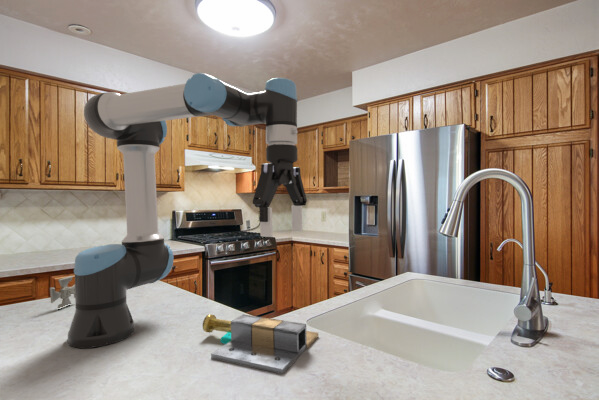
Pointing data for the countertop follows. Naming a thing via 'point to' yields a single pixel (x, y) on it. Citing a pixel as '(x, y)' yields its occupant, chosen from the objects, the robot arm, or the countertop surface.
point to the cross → (63, 292)
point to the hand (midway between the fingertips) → (282, 233)
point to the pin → (216, 324)
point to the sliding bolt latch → (265, 343)
